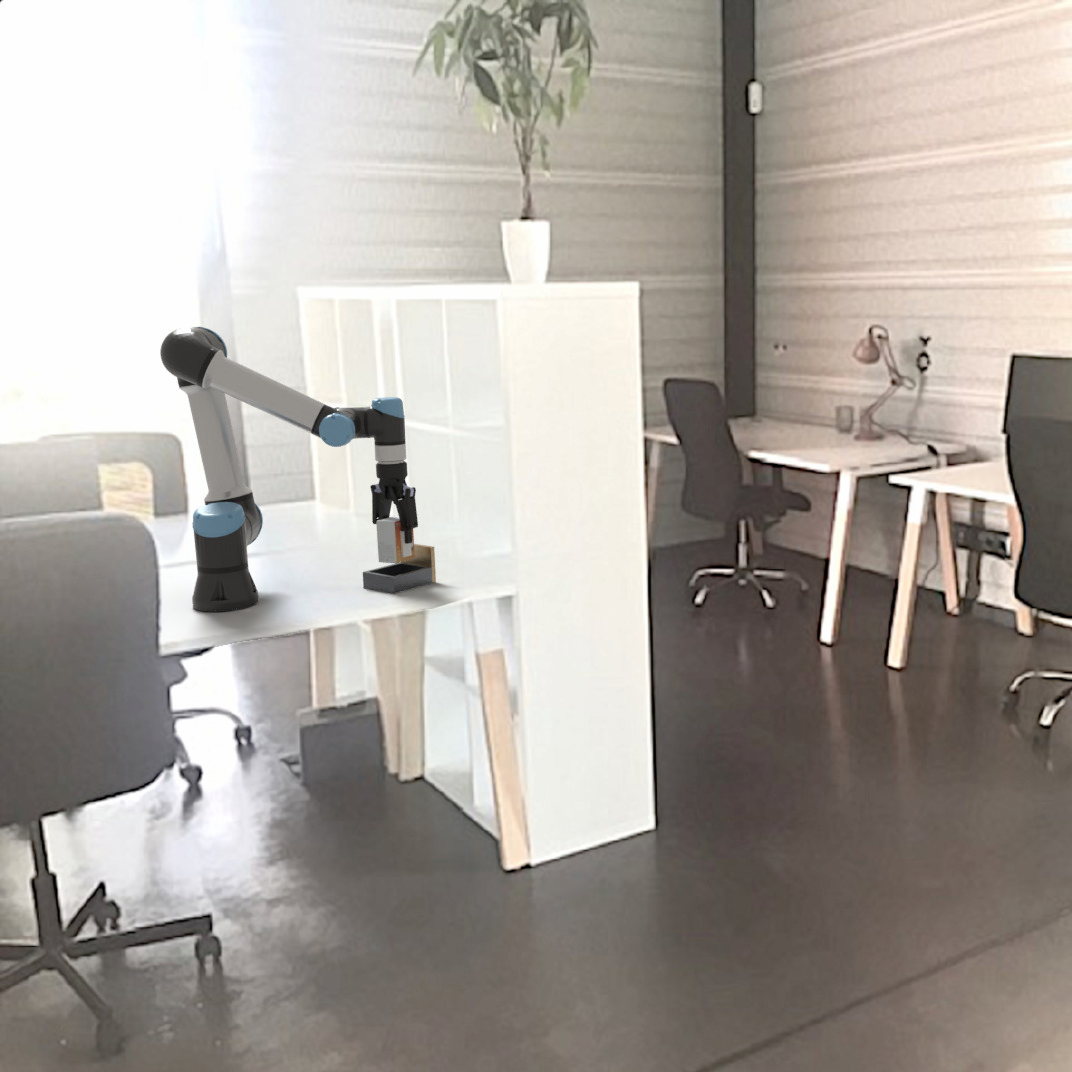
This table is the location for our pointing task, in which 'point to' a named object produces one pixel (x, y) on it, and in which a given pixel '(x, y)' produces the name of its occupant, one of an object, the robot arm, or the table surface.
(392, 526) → the small box
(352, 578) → the table surface
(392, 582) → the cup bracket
